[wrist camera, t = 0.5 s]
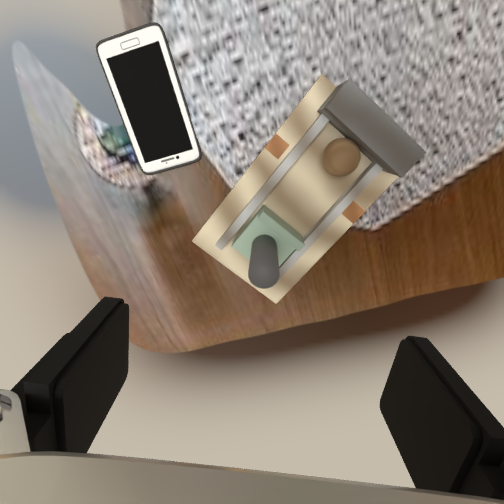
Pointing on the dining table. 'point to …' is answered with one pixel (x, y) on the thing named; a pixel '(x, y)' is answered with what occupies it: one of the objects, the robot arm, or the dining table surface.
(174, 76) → the cell phone
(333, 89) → the press frame
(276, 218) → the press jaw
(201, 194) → the dining table surface
